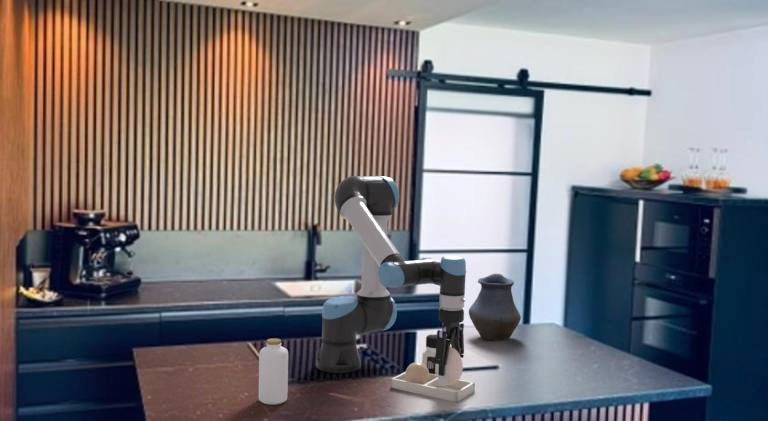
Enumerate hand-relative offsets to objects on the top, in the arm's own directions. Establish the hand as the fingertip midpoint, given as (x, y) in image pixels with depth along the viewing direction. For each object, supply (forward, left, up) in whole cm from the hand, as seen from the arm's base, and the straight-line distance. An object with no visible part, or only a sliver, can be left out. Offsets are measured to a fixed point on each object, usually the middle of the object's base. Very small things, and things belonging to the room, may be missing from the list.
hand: (448, 381), depth 222 cm
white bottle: (-39, -35, -4) cm, 53 cm away
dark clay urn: (-16, +74, -4) cm, 76 cm away
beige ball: (-11, 0, -3) cm, 11 cm away
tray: (-5, 0, -4) cm, 7 cm away
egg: (0, 0, -1) cm, 1 cm away
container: (-13, +17, -4) cm, 22 cm away
